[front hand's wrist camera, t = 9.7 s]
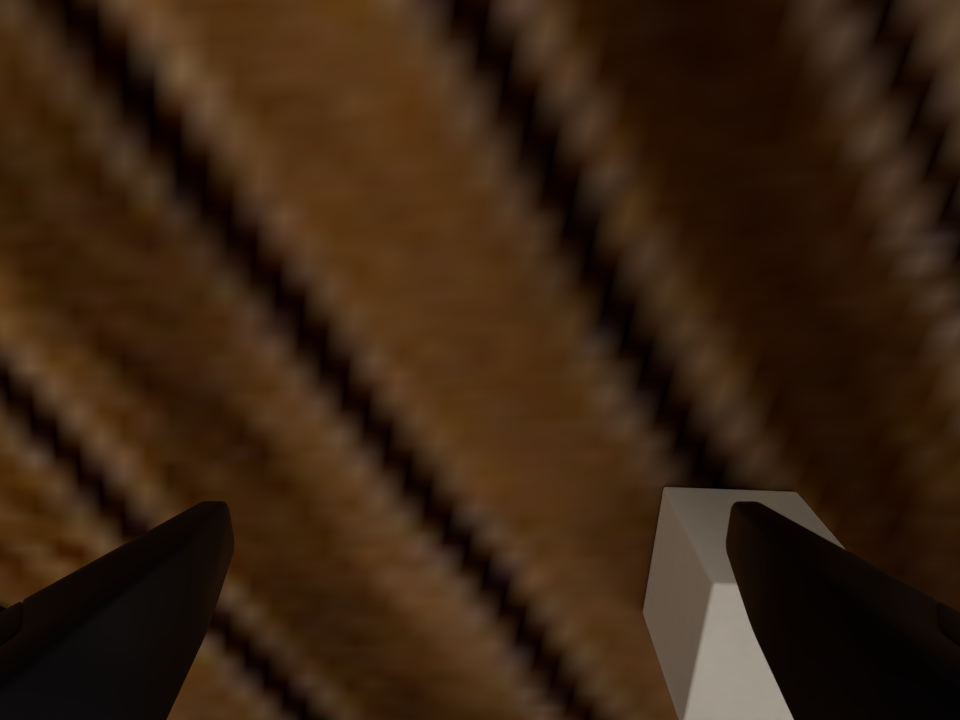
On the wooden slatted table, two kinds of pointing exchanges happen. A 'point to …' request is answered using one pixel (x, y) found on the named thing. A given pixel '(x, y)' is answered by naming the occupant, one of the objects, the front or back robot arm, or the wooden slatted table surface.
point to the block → (711, 607)
